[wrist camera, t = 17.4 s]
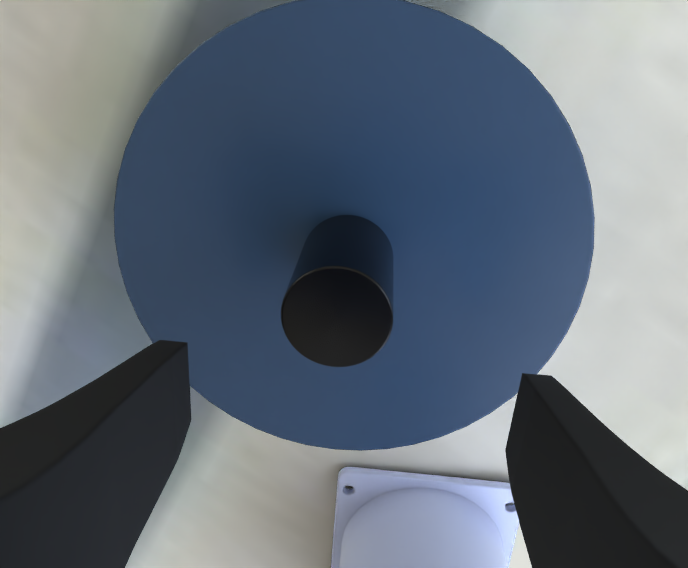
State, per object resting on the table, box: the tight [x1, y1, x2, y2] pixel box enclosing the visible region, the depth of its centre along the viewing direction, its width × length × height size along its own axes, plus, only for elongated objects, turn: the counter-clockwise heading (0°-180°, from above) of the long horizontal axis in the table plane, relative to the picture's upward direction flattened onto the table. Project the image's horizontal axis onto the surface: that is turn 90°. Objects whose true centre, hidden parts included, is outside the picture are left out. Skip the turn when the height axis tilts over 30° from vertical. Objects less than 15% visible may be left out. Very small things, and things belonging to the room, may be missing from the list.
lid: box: [114, 0, 595, 450], centre depth 15 cm, size 13×13×5 cm
